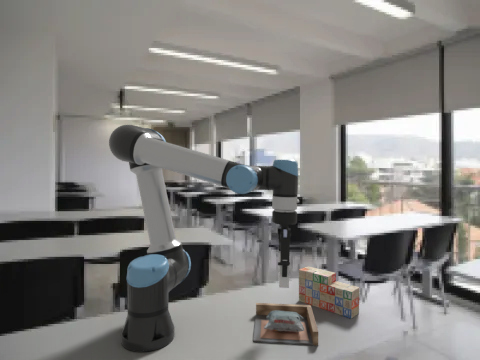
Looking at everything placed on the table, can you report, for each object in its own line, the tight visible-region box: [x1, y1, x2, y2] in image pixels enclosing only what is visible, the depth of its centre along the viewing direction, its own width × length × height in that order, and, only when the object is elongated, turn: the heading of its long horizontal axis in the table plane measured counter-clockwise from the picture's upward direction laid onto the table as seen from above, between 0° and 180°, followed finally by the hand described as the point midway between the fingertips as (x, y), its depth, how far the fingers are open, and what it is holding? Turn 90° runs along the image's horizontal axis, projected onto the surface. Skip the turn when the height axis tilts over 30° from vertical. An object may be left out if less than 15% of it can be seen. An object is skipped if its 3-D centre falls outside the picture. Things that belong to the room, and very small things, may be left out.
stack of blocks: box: [298, 266, 360, 319], centre depth 118 cm, size 21×6×12 cm, turn 45°
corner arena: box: [252, 302, 319, 347], centre depth 102 cm, size 18×18×4 cm
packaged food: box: [264, 310, 304, 332], centre depth 100 cm, size 9×12×5 cm
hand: (283, 279), depth 99 cm, fingers open, 13 cm apart
